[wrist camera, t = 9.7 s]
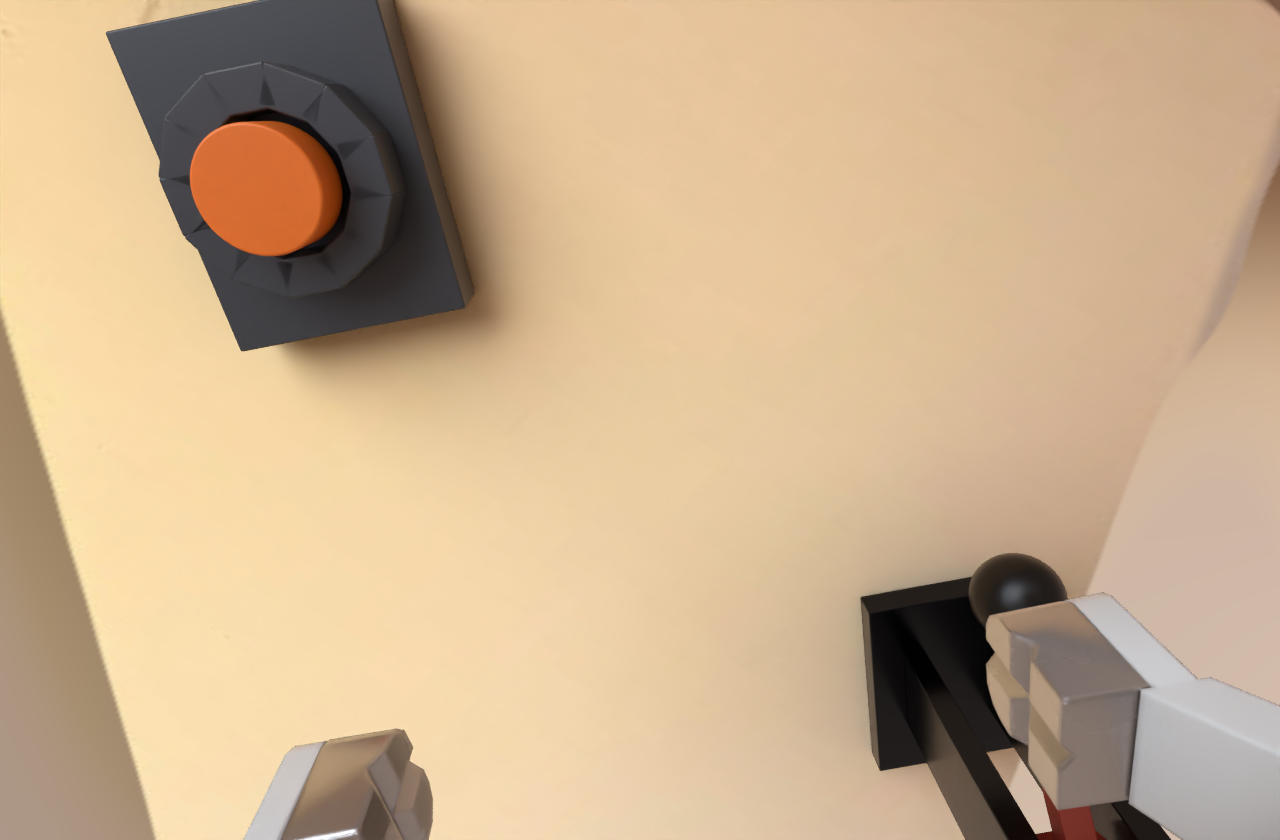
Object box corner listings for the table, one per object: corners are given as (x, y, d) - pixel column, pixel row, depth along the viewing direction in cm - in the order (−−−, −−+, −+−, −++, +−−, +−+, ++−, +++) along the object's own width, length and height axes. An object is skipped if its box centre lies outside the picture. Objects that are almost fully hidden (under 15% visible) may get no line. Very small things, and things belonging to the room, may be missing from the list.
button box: (146, 38, 23) (61, 24, 19) (390, -12, 23) (351, -35, 19) (267, 334, 27) (215, 369, 23) (475, 293, 27) (456, 322, 23)
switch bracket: (859, 596, 33) (1001, 861, 22) (1032, 565, 33) (1269, 814, 21) (871, 752, 37) (996, 1047, 26) (1025, 724, 37) (1223, 1009, 25)
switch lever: (946, 558, 28) (981, 565, 25) (1028, 543, 28) (1073, 548, 25) (1028, 911, 27) (1076, 966, 23) (1115, 896, 27) (1175, 949, 23)
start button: (198, 134, 21) (165, 136, 19) (318, 110, 21) (295, 109, 19) (247, 256, 22) (220, 268, 21) (360, 234, 22) (341, 243, 21)
